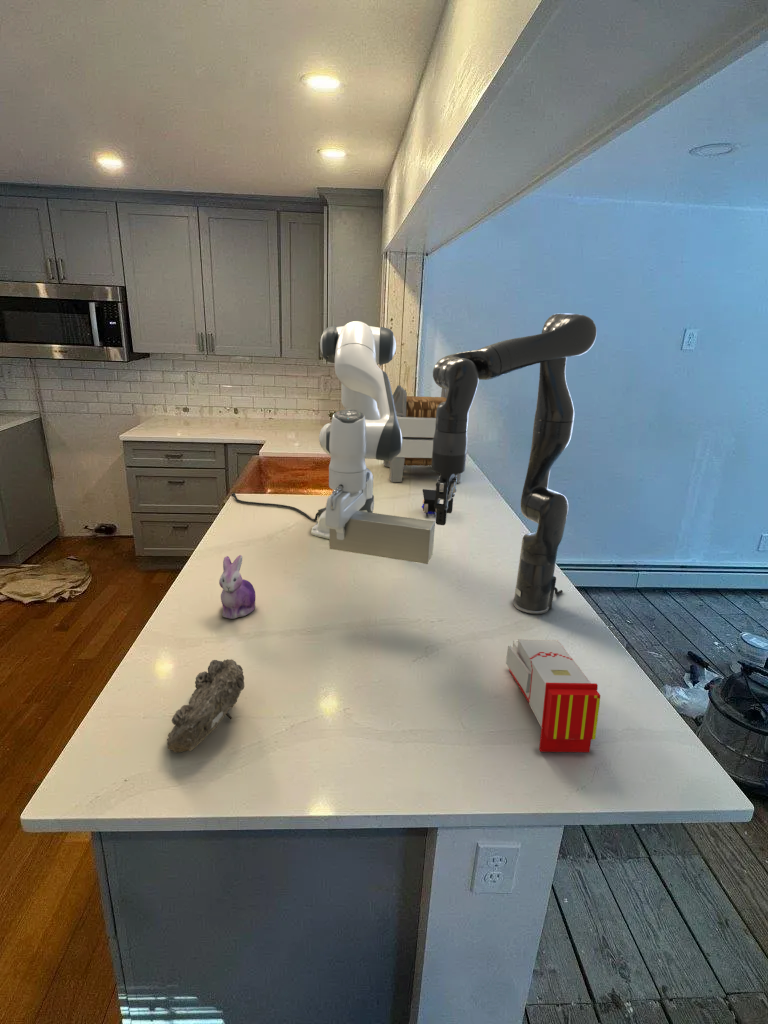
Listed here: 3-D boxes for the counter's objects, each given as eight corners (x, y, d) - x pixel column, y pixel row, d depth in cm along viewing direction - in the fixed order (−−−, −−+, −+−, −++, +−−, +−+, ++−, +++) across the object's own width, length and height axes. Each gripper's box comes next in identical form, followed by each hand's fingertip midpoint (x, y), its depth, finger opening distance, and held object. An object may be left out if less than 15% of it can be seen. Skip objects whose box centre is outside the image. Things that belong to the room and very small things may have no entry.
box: (329, 548, 139) (329, 515, 136) (337, 540, 145) (337, 507, 142) (427, 564, 133) (430, 529, 130) (432, 554, 139) (435, 521, 136)
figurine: (224, 623, 139) (221, 568, 134) (215, 604, 148) (212, 552, 142) (262, 616, 143) (260, 562, 138) (251, 598, 152) (249, 546, 147)
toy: (554, 622, 128) (610, 691, 98) (548, 677, 130) (601, 759, 101) (501, 621, 127) (541, 690, 98) (496, 676, 130) (534, 758, 101)
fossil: (192, 660, 117) (244, 628, 112) (224, 691, 120) (276, 661, 115) (142, 746, 98) (202, 712, 93) (182, 779, 101) (242, 748, 96)
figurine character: (440, 522, 216) (436, 505, 230) (442, 504, 213) (438, 488, 226) (422, 521, 216) (419, 504, 229) (424, 503, 213) (421, 487, 226)
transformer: (382, 463, 289) (386, 382, 275) (445, 464, 293) (451, 384, 279) (390, 482, 257) (394, 392, 243) (460, 483, 261) (468, 394, 247)
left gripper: (345, 494, 125) (343, 551, 130) (372, 470, 144) (370, 521, 148) (318, 490, 127) (318, 547, 131) (348, 467, 145) (347, 518, 150)
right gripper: (461, 459, 118) (455, 531, 124) (470, 444, 131) (464, 510, 137) (426, 455, 120) (421, 526, 126) (438, 441, 133) (434, 506, 139)
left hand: (346, 533), depth 140 cm, fingers closed on box, 6 cm apart
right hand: (444, 518), depth 131 cm, fingers open, 8 cm apart
